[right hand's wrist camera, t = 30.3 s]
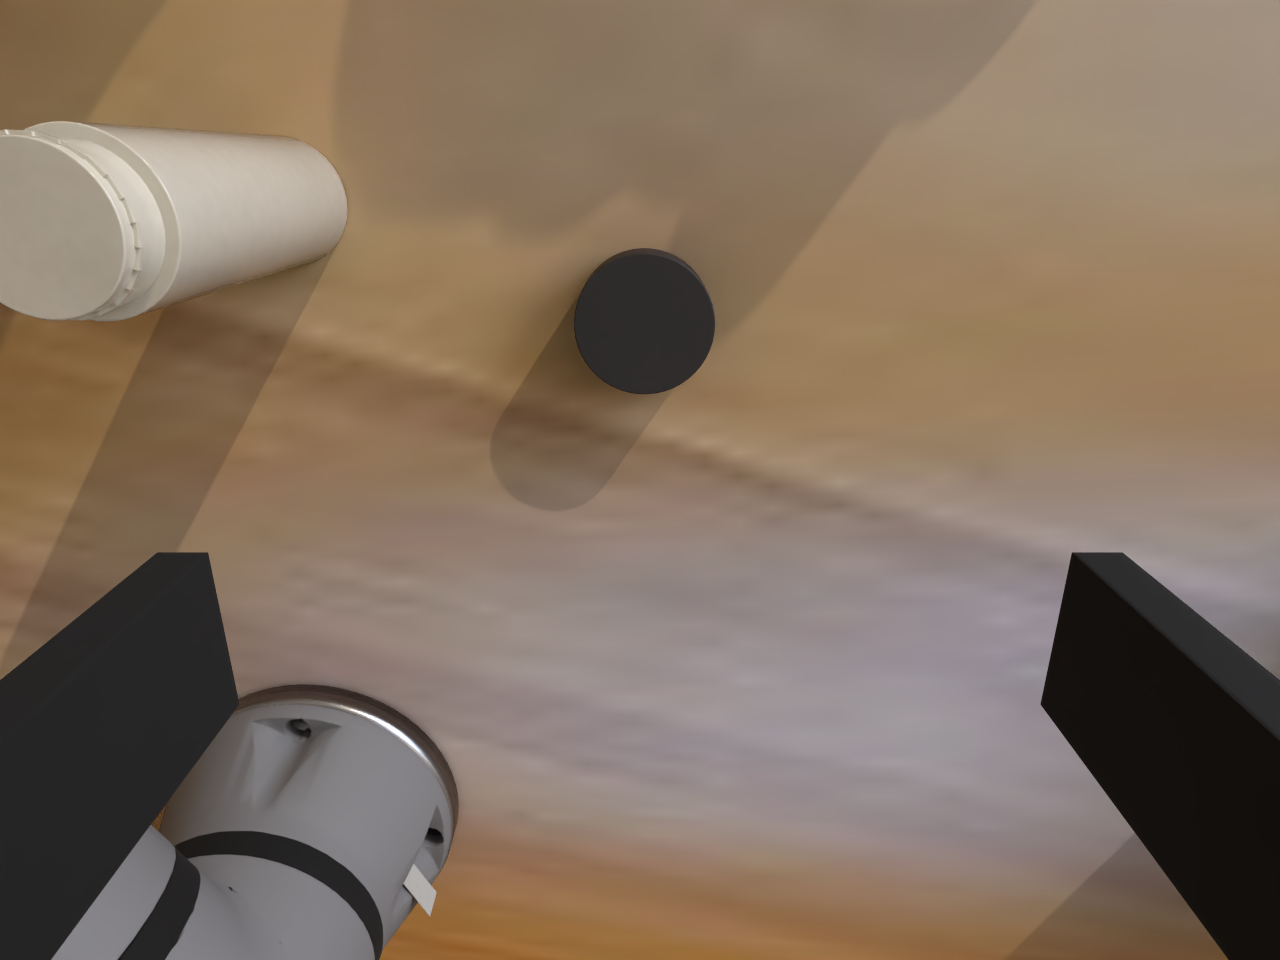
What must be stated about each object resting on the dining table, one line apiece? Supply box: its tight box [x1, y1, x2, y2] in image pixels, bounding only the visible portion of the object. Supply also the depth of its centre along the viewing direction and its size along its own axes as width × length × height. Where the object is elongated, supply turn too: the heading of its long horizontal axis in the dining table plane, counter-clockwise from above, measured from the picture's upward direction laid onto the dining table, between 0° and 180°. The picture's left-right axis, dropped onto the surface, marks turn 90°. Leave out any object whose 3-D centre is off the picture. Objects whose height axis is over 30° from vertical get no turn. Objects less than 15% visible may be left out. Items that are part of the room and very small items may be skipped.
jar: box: [0, 121, 347, 321], centre depth 28 cm, size 5×5×16 cm
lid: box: [574, 248, 715, 394], centre depth 37 cm, size 6×6×2 cm
